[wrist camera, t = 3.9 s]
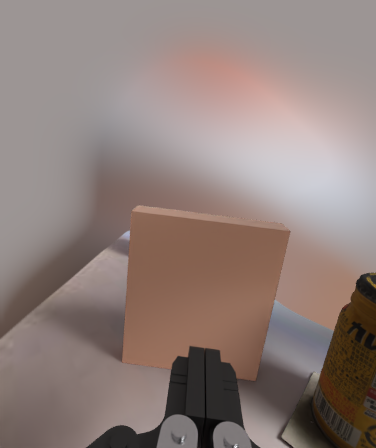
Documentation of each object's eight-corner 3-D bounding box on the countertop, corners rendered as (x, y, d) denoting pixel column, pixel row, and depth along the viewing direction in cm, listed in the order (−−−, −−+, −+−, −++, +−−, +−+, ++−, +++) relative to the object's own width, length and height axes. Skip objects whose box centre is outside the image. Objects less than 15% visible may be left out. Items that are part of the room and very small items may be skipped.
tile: (255, 381, 24) (290, 231, 20) (122, 362, 24) (131, 211, 20) (251, 361, 26) (281, 223, 22) (128, 344, 26) (138, 205, 22)
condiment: (409, 428, 21) (470, 293, 18) (409, 539, 14) (505, 359, 11) (313, 373, 25) (348, 256, 22) (280, 440, 19) (322, 290, 16)
